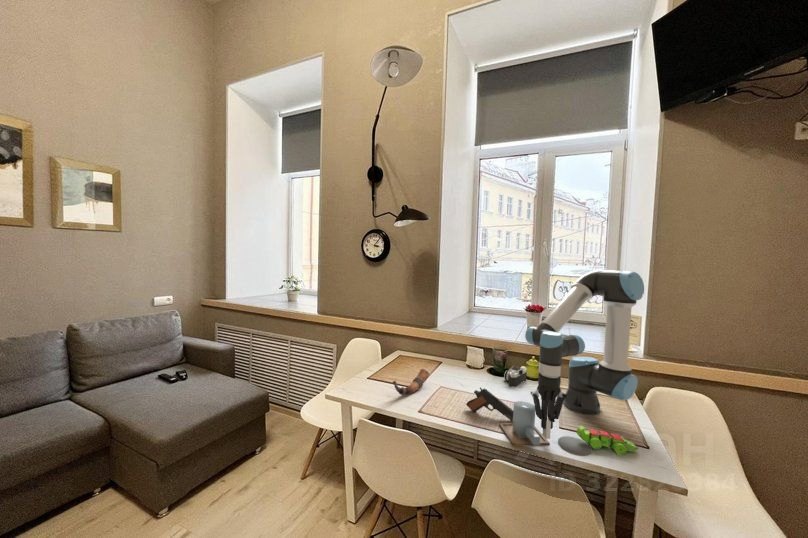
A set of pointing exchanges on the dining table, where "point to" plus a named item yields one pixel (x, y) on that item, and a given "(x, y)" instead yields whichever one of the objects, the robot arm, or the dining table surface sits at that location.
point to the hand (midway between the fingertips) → (546, 436)
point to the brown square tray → (520, 441)
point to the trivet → (574, 445)
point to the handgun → (487, 398)
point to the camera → (515, 375)
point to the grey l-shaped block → (525, 421)
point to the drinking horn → (413, 383)
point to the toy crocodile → (606, 440)
